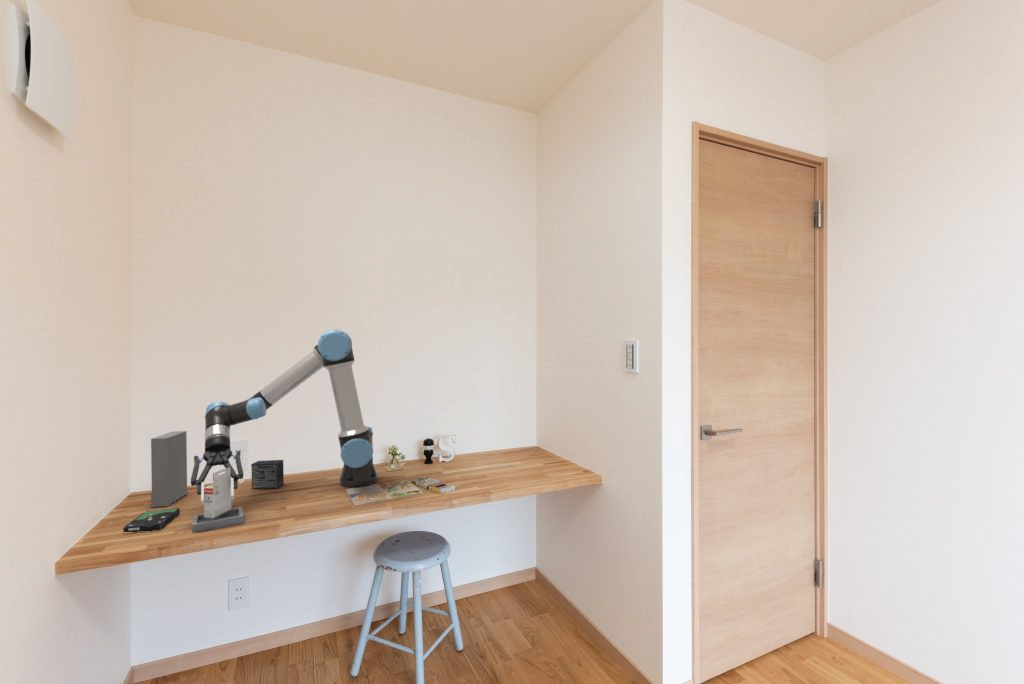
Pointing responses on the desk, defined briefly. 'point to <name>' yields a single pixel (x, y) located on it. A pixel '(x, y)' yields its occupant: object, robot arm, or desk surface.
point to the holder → (217, 520)
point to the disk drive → (152, 520)
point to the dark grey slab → (168, 468)
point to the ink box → (218, 495)
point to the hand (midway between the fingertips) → (217, 500)
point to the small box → (267, 474)
